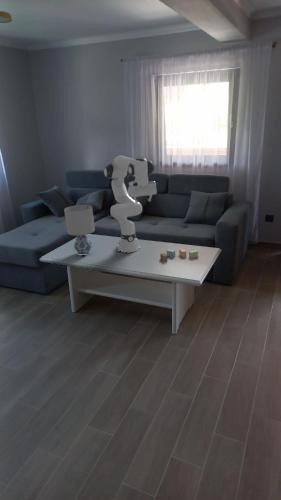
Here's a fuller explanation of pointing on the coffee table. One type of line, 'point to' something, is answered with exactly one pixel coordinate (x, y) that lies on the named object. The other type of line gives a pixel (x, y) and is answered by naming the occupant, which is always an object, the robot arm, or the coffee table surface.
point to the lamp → (80, 226)
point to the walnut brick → (163, 257)
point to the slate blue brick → (170, 253)
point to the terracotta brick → (182, 252)
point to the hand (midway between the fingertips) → (143, 202)
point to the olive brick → (193, 254)
